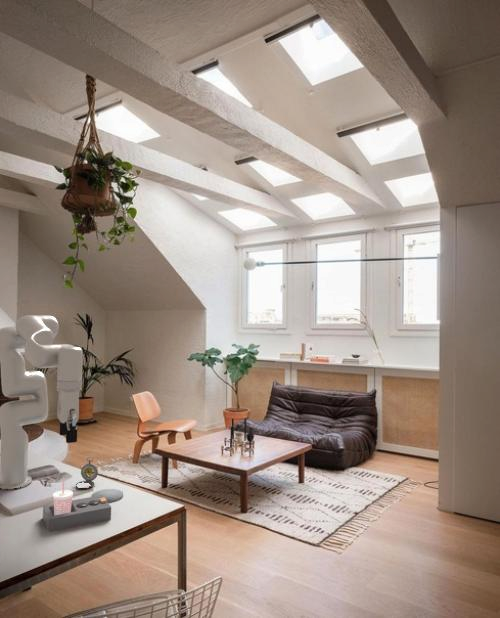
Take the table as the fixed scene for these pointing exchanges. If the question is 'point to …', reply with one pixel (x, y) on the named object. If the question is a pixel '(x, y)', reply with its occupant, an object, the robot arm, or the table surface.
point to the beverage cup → (62, 501)
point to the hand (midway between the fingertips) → (68, 438)
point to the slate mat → (109, 494)
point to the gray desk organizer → (78, 513)
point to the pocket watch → (89, 473)
